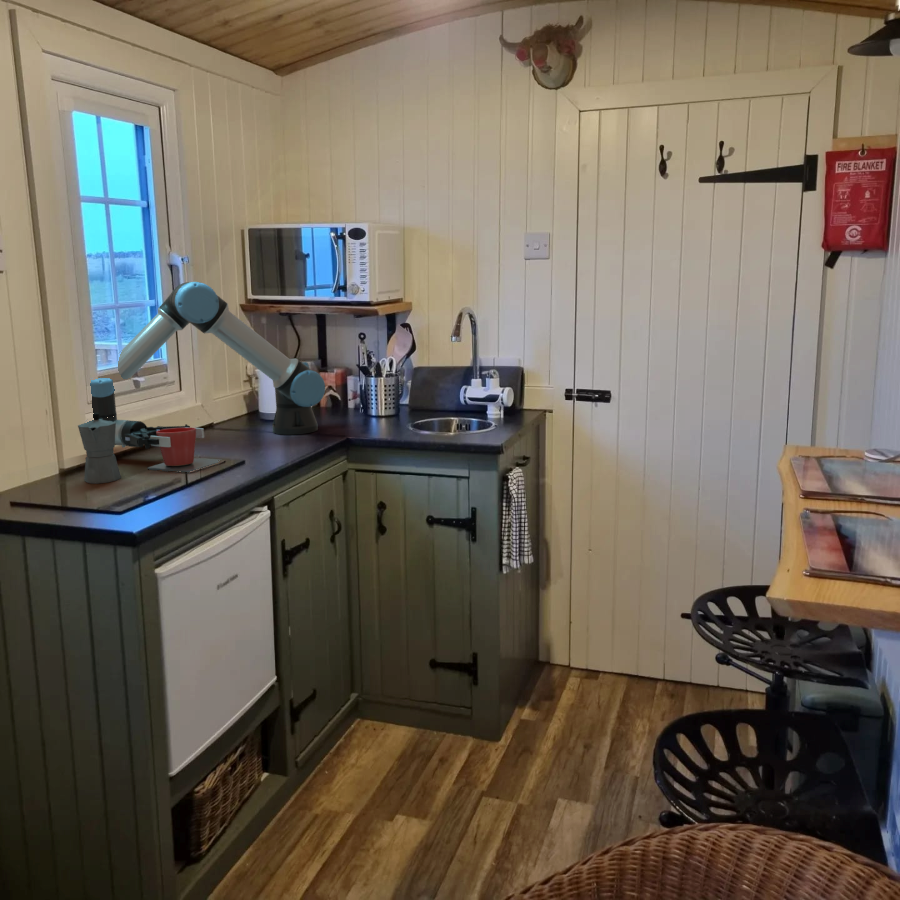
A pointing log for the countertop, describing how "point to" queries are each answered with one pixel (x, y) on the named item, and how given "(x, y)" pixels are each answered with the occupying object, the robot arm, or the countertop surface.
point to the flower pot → (178, 446)
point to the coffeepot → (99, 450)
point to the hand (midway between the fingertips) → (186, 437)
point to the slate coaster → (186, 468)
